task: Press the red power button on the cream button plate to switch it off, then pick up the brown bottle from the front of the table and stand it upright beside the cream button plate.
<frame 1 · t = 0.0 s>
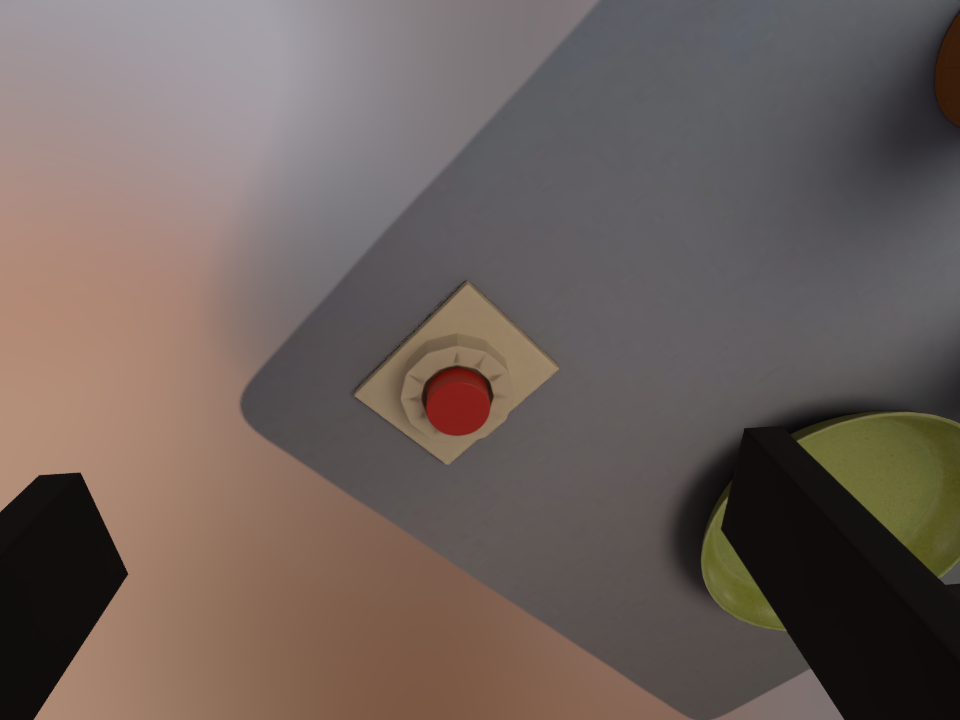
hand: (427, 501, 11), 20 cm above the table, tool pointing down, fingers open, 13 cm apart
green plate: (816, 503, 40), on the table
cream button plate: (456, 377, 33), on the table
power button: (457, 402, 30), point 3 cm above the table, slide at 0.1 cm
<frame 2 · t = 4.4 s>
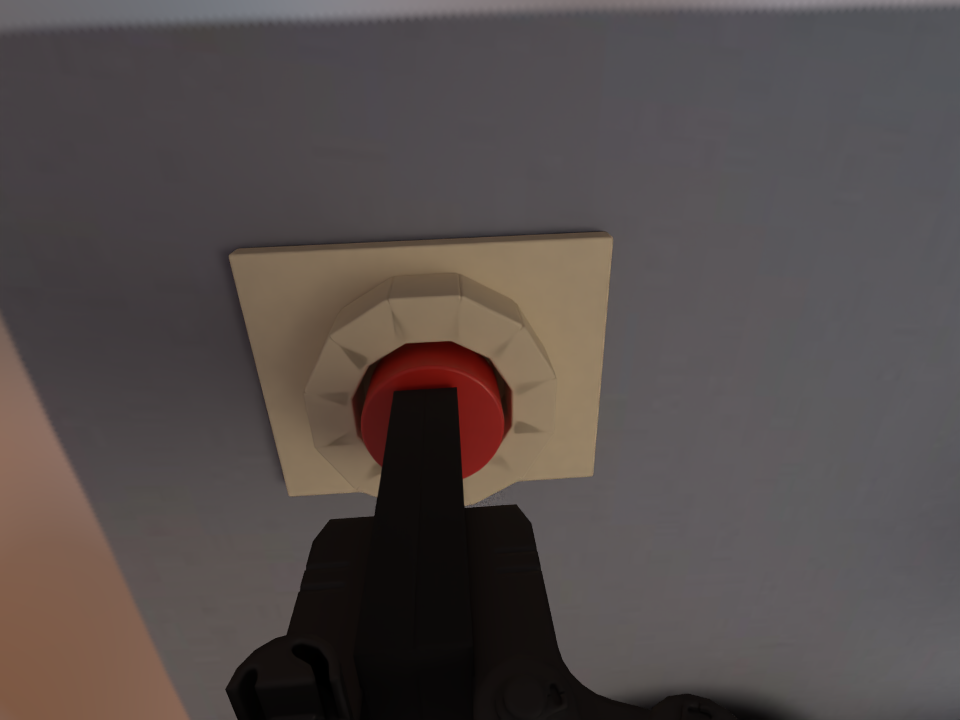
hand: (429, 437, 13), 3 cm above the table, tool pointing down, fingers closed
cream button plate: (434, 369, 16), on the table
power button: (433, 411, 14), point 2 cm above the table, slide at -0.5 cm, touching gripper
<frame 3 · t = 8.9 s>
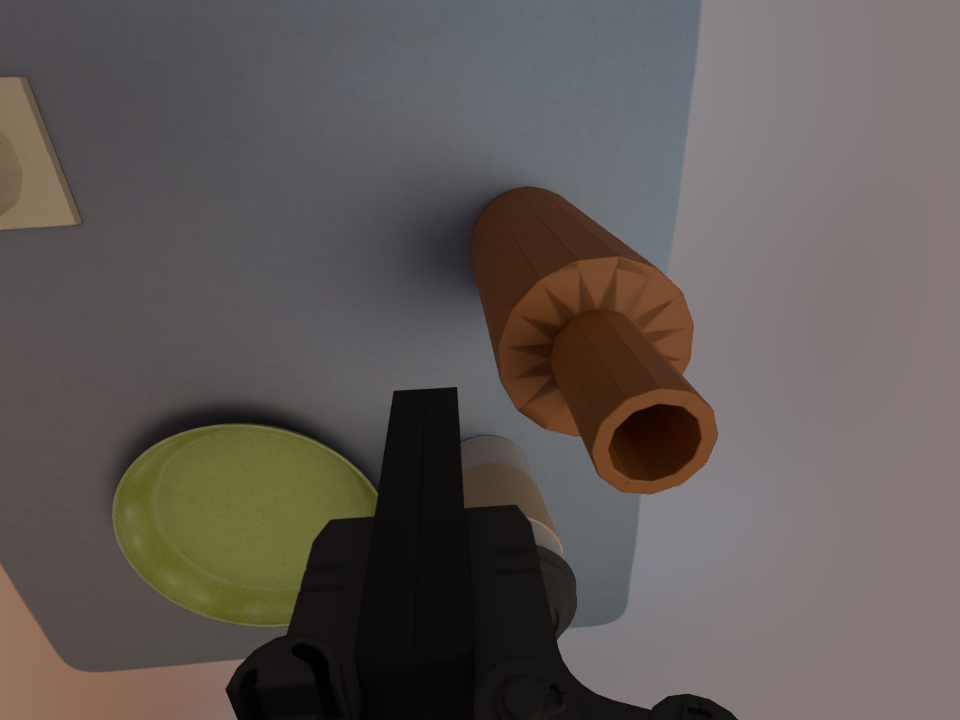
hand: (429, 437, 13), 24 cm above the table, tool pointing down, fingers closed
brown bottle: (526, 245, 35), on the table
green plate: (268, 507, 44), on the table
coffee cup: (485, 467, 44), on the table
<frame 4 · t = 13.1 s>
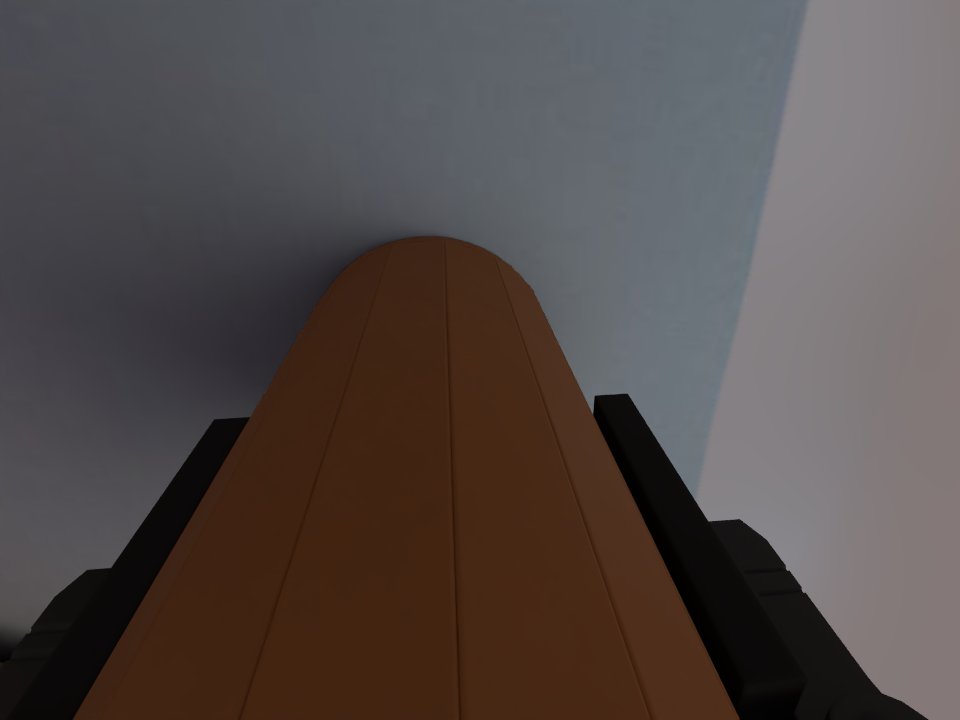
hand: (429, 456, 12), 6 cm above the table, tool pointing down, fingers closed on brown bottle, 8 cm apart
brown bottle: (432, 351, 17), on the table, touching gripper
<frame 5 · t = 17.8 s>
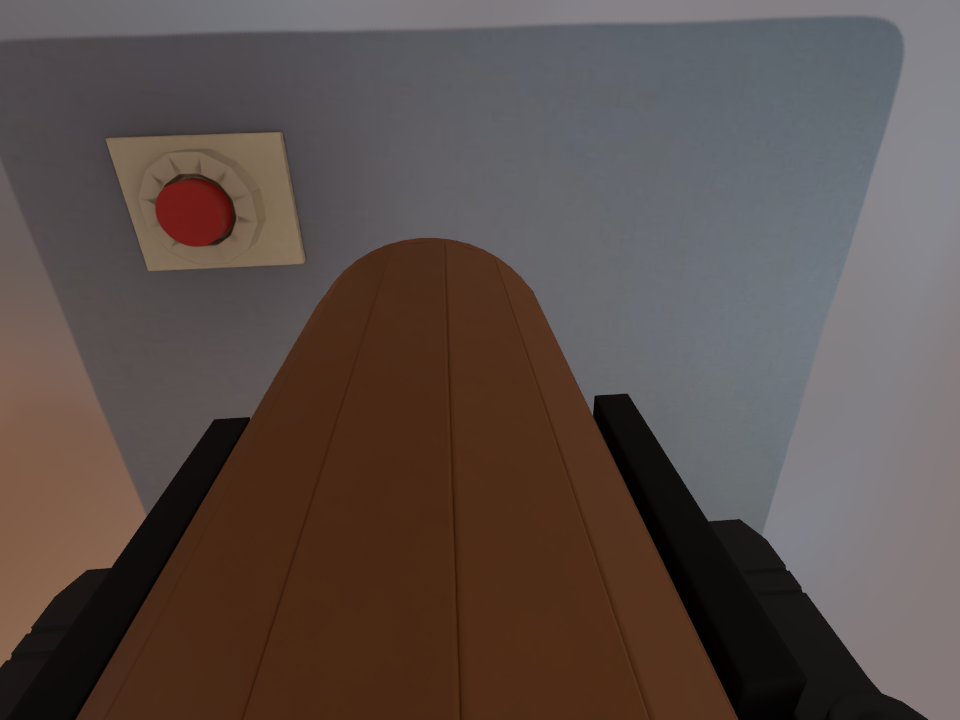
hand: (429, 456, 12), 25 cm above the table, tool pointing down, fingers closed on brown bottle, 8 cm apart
brown bottle: (432, 353, 17), point 20 cm above the table, touching gripper
cream button plate: (214, 203, 33), on the table
power button: (195, 212, 30), point 3 cm above the table, slide at 0.1 cm
when the fingers open (6 cm above the table, at t = 22.4 s): brown bottle stays where it is, on the table.
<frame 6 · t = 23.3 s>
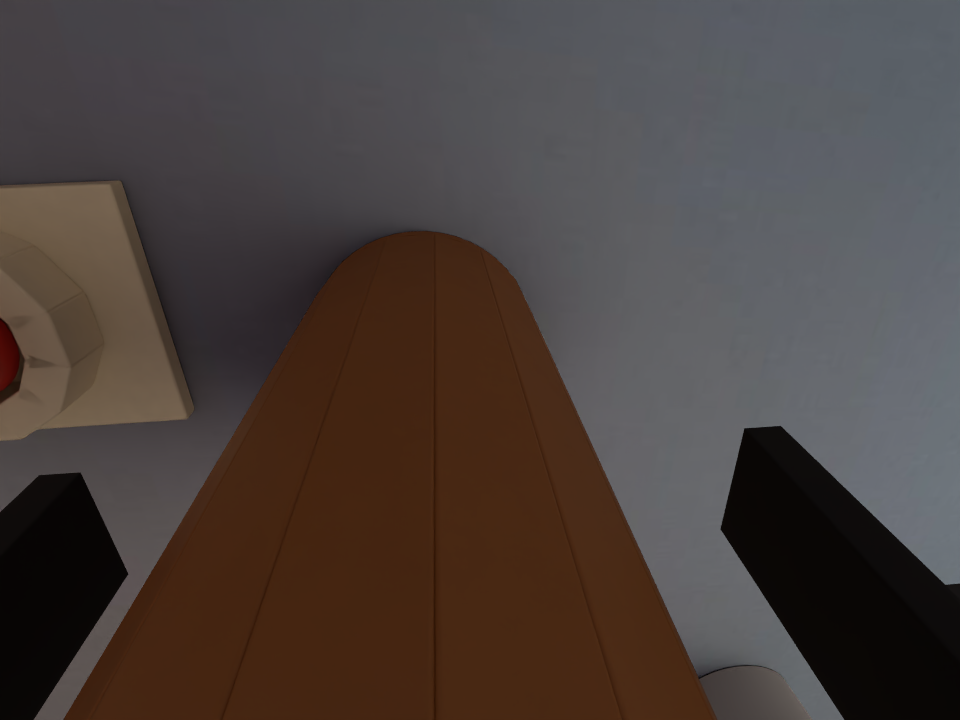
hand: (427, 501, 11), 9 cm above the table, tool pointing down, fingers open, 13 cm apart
brown bottle: (424, 338, 19), on the table
cream button plate: (4, 315, 17), on the table
coffee cup: (727, 699, 30), on the table
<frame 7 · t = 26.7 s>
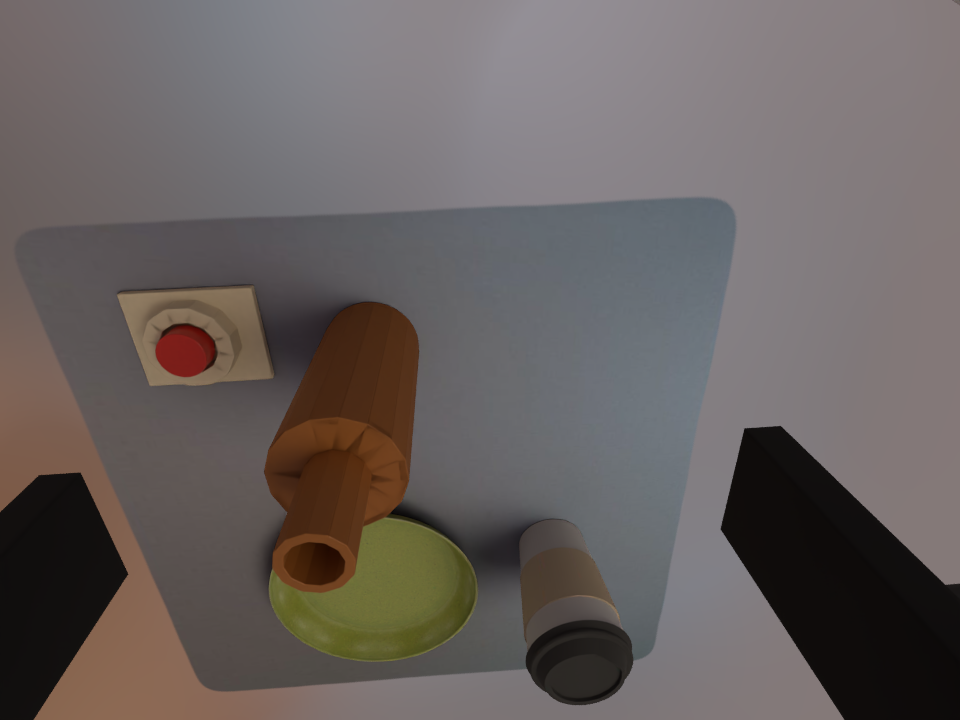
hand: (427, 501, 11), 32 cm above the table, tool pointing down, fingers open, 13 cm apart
brown bottle: (372, 344, 44), on the table
green plate: (378, 569, 56), on the table
cream button plate: (201, 335, 42), on the table
coffee cup: (550, 542, 56), on the table
power button: (185, 351, 40), point 3 cm above the table, slide at 0.1 cm
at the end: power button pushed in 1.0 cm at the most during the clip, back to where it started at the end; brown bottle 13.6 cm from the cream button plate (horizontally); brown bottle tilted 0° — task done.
